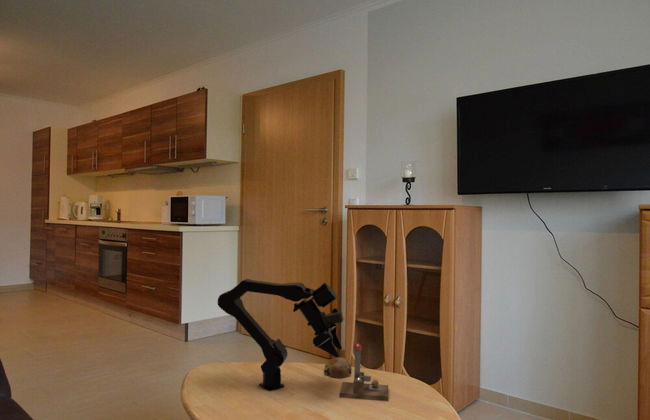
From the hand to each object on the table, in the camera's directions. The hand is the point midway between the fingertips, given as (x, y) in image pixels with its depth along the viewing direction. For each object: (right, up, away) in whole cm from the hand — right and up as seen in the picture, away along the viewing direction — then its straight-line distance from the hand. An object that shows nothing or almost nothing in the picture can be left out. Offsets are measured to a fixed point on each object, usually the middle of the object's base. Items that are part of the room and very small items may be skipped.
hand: (339, 352), depth 156 cm
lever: (+8, -10, -1) cm, 12 cm away
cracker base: (+8, -13, -1) cm, 16 cm away
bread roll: (0, -14, +17) cm, 22 cm away
